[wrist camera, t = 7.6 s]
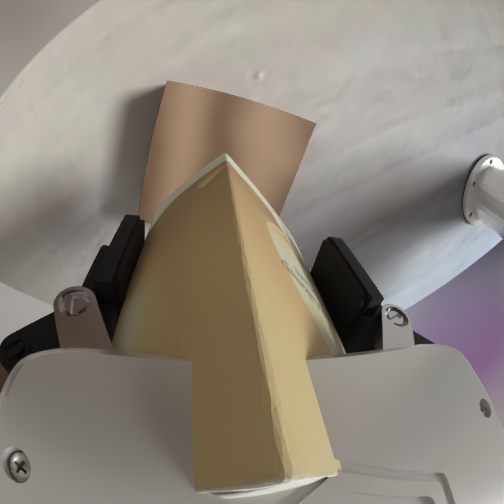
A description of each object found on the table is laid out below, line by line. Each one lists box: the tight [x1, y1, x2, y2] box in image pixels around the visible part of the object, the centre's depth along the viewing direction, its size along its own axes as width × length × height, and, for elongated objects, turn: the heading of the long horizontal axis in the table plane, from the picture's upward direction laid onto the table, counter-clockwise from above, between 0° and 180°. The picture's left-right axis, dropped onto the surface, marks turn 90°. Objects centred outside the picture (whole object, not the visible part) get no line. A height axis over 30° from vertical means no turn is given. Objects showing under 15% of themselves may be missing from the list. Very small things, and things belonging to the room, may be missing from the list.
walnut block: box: [138, 81, 316, 223], centre depth 23 cm, size 12×12×5 cm
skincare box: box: [112, 153, 346, 498], centre depth 9 cm, size 6×4×12 cm
